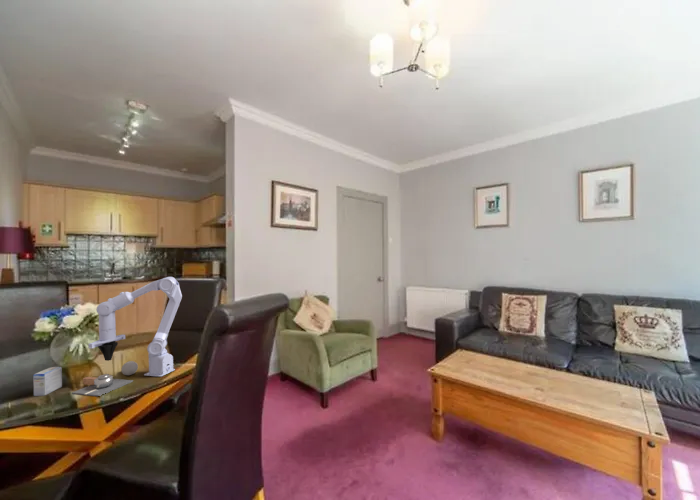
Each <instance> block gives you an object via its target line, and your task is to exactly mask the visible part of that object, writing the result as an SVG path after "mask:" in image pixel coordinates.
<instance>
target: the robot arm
mask: <svg viewBox="0 0 700 500" xmlns="http://www.w3.org/2000/svg"><path fill="white" fill-rule="evenodd" d="M151 291H162V292H163V293H164V294H165V295H166V296H167V298H168V299H169V300H168V303H167V305H166V307H165V310H164V313H163V315H162V317H161V321H160V323H159V325H158V329H157V331H156V333H155V335H154V337H153V339H152V341H151V342H150V343H149V344H148V345H147V349H146V350H147V353H148V372H146V373H144V374H143V375H144V376H149V377H150V376H151V377H161V378H162V377H163V376H165V375H167V374H169V373H171V372H174V371H175V370H176V369H175V368H174V356H173V355H172V354H170V353H169V352H168V350H167V349H166V347H167V345H168V336H169V332H170V329H171V327H172V324H173V322H174V320H175V316H176V315H177V311H178V309H179V307H180V303H181V301H182V299H183V294H182V291H181V288H180V282H178V280H177V279H176V278H175V277H173V276H166V277H163V278H161V279H158V280H154V281H151V282H149V283H148V284H146V285H143V286H142V287H139V288H137V289H136V290H133V291H132V292H129V291H121V292H119V294H118V295H116V296H114V297H112V298H111V297H110V298H108V299H107V300H106V301H103V302H100V303H99V304H98V305H97V307H96V313H97V314H98V340H95V341H93V342H90V343H88V347H87V348H88V349H95V348H98V349H99V351H101V353H102V355H103V359H104V361H108V362H109V361H111V360H112V359H113V355H114V352H115V350H116V348H117V346H118V345H119V343H118V341H120V340H126V334H119V335H117V331H116V330H117V328H116V324H117V323H116V312H117V311H119V310H120V309H123V308H125V307H127V306H129V305H132V304H133V303H134V302H135V299H137V298H139V297H141V296H143V295H145V294H147V293H150V292H151Z"/></svg>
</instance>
